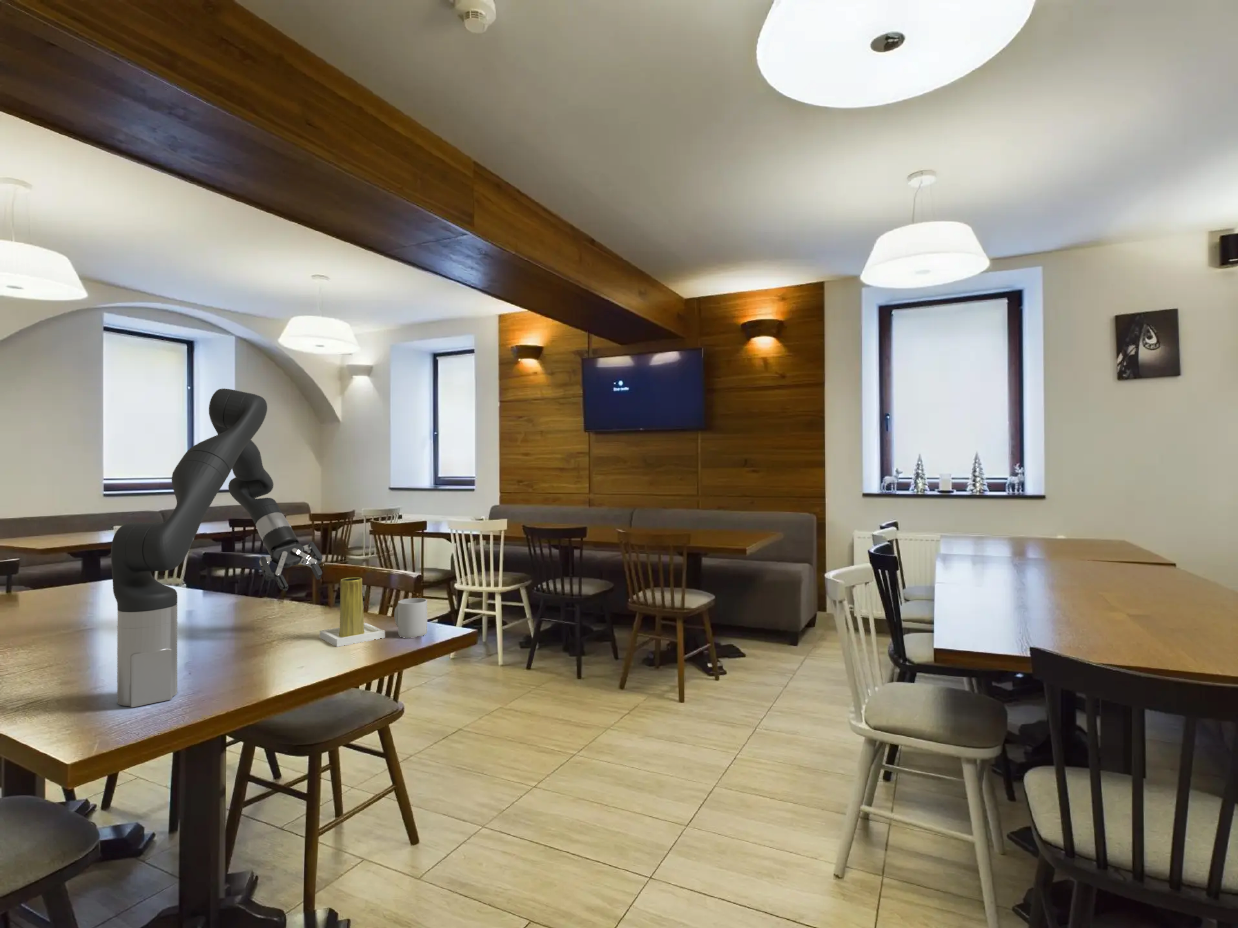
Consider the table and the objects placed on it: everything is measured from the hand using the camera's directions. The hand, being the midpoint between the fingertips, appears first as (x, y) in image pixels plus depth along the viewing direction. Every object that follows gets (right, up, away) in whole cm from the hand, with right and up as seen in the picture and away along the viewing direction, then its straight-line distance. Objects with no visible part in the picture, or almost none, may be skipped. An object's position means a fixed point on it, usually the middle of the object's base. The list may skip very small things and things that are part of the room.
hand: (303, 583), depth 168 cm
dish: (+13, -14, -2) cm, 19 cm away
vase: (+13, -13, -2) cm, 19 cm away
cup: (+27, -14, +2) cm, 30 cm away
